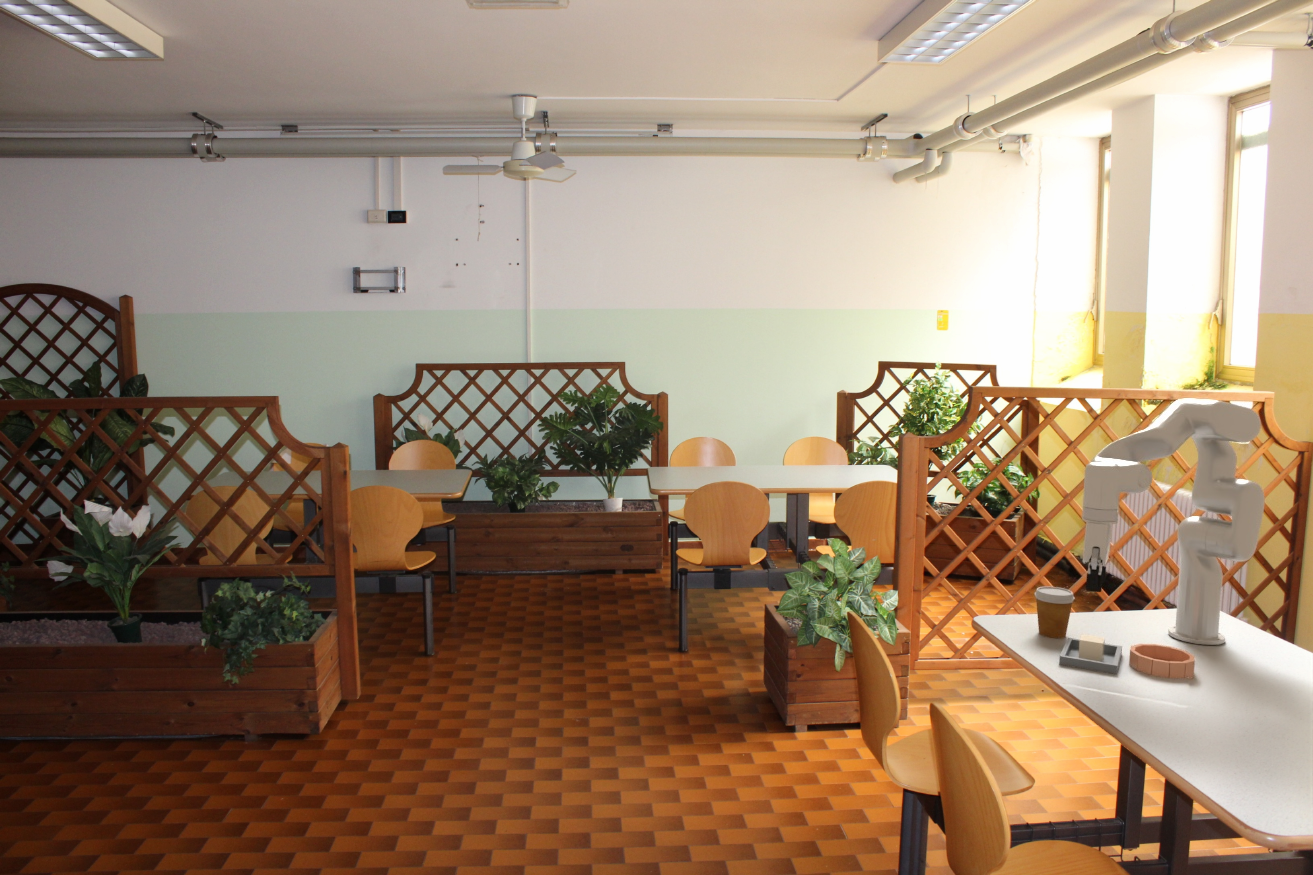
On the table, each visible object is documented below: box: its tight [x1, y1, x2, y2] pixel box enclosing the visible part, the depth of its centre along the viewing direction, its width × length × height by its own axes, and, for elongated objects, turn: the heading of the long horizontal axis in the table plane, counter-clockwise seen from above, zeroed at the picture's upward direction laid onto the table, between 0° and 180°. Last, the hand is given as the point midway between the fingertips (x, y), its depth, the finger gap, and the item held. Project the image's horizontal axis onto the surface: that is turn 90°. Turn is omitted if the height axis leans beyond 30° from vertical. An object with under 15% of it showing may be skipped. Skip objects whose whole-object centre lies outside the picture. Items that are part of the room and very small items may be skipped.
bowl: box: [1128, 643, 1196, 680], centre depth 207 cm, size 13×13×4 cm
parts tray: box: [1058, 637, 1123, 675], centre depth 212 cm, size 16×12×2 cm
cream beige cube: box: [1078, 633, 1106, 662], centre depth 212 cm, size 5×5×5 cm
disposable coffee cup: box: [1034, 586, 1076, 639], centre depth 230 cm, size 10×10×12 cm
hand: (1095, 586), depth 210 cm, fingers open, 9 cm apart
